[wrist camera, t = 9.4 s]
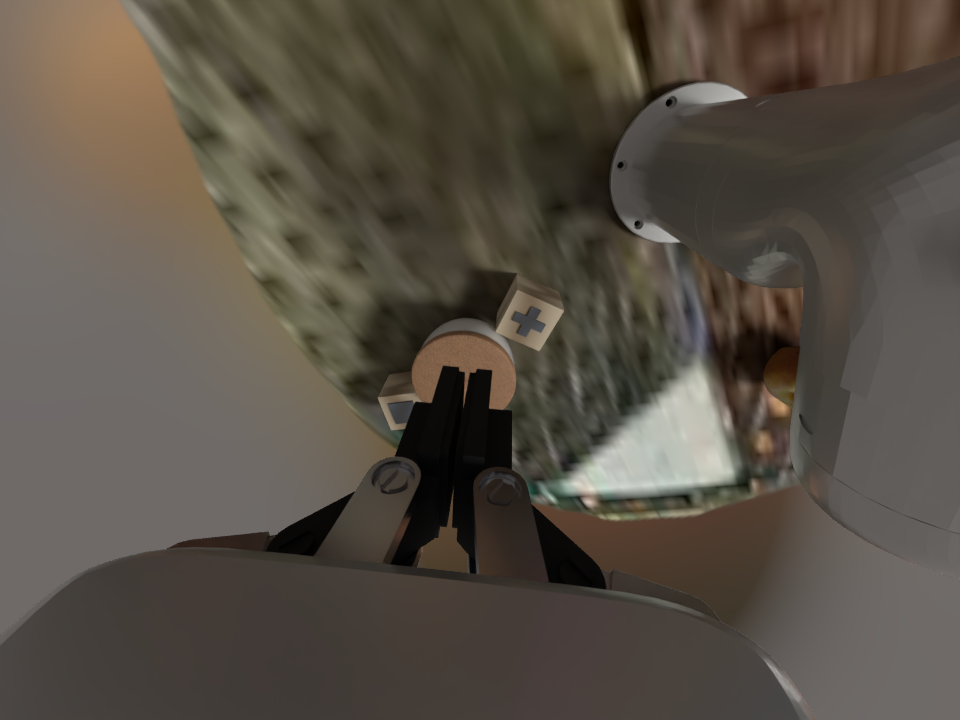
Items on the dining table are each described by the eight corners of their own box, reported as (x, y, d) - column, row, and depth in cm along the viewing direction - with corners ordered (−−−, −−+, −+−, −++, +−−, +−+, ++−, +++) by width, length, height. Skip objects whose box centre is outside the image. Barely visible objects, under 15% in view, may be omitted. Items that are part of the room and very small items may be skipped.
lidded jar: (465, 396, 49) (456, 448, 41) (407, 337, 45) (384, 382, 37) (533, 352, 45) (538, 400, 37) (476, 284, 41) (466, 321, 33)
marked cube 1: (427, 368, 47) (418, 393, 43) (437, 400, 50) (430, 426, 45) (389, 374, 48) (376, 398, 44) (401, 405, 51) (390, 431, 46)
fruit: (754, 333, 42) (801, 373, 35) (839, 323, 40) (905, 362, 34) (742, 389, 45) (783, 435, 39) (820, 382, 44) (877, 428, 37)
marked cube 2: (558, 291, 41) (564, 311, 37) (536, 329, 44) (539, 352, 39) (516, 272, 40) (517, 290, 36) (497, 312, 43) (495, 333, 38)
